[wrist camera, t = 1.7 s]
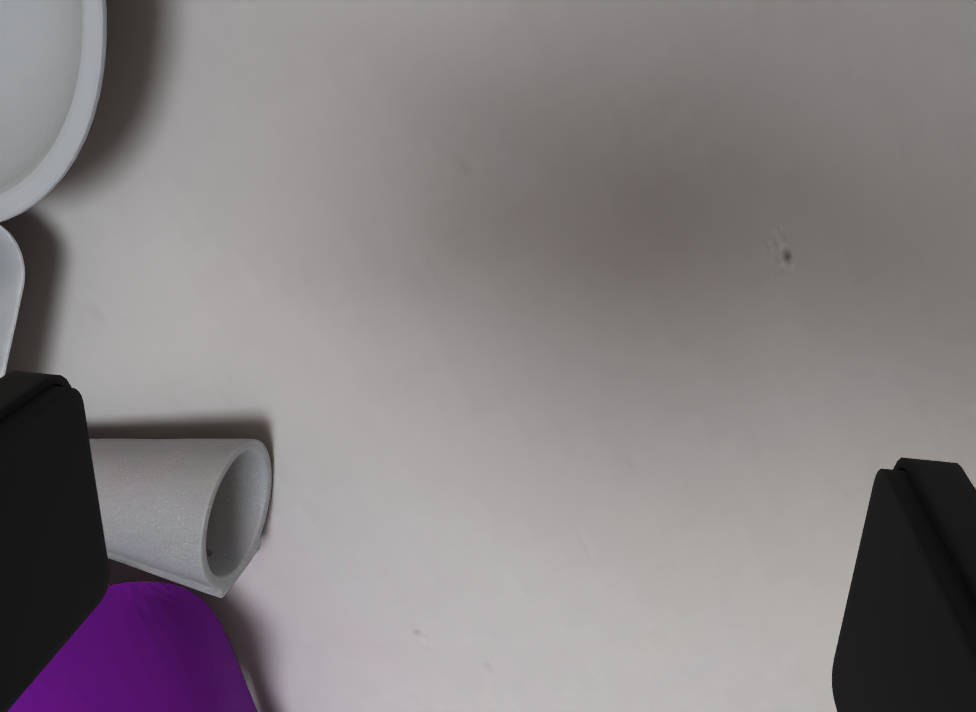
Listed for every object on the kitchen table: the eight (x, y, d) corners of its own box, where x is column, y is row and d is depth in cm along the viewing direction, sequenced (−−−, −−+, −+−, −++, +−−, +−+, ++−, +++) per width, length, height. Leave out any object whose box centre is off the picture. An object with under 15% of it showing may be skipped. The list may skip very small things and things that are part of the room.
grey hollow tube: (-119, 315, 42) (270, 411, 38) (-88, 431, 45) (274, 529, 41) (-238, 378, 37) (196, 495, 33) (-192, 502, 40) (206, 621, 37)
